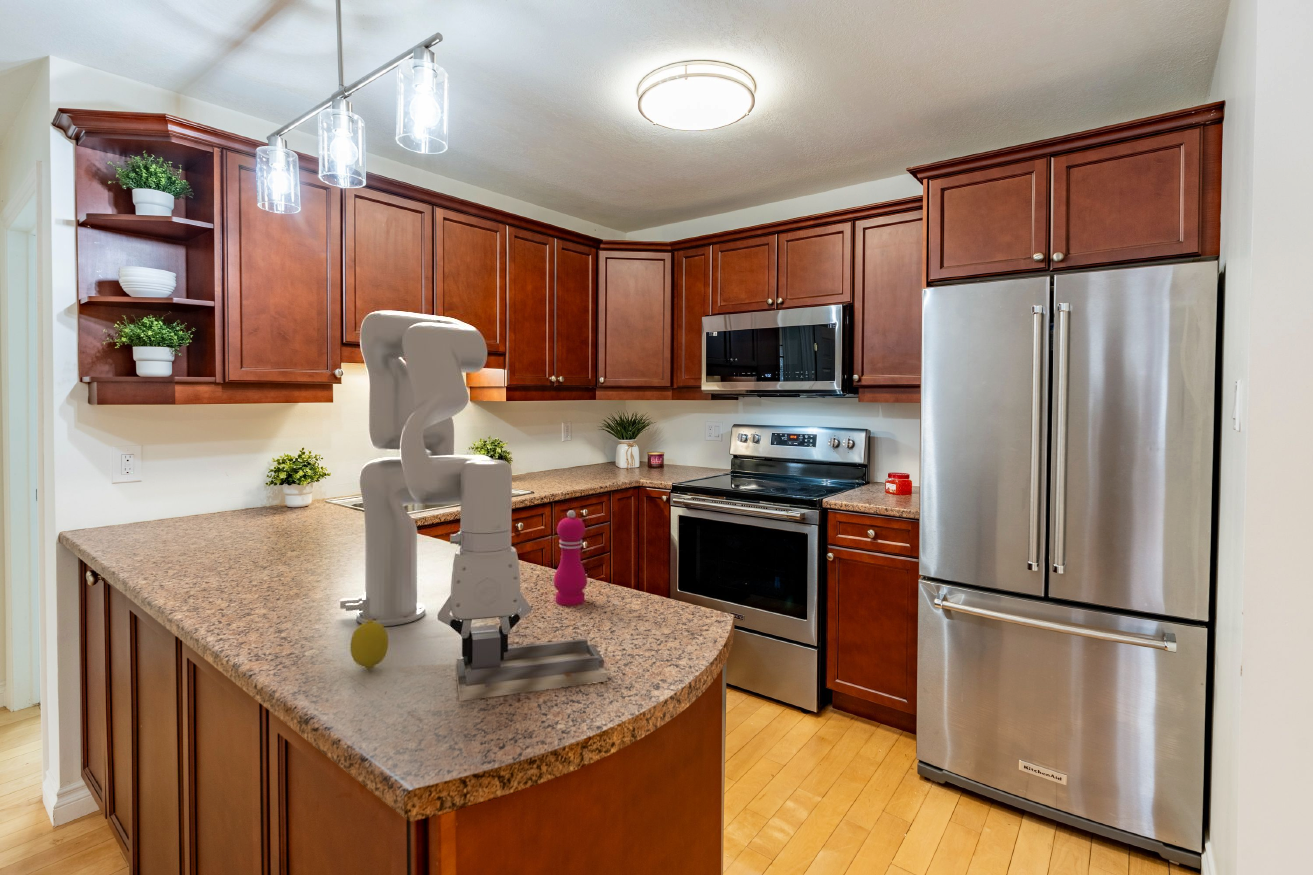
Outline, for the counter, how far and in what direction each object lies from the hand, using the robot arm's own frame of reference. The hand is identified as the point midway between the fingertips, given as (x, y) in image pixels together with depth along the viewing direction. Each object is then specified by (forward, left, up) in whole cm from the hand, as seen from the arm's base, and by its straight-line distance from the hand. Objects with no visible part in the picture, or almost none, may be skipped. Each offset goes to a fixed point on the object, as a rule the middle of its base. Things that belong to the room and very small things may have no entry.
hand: (484, 657), depth 99 cm
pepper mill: (+21, +36, -4) cm, 42 cm away
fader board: (+7, 0, -4) cm, 8 cm away
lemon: (-17, +10, -4) cm, 20 cm away
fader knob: (0, 0, -2) cm, 2 cm away
